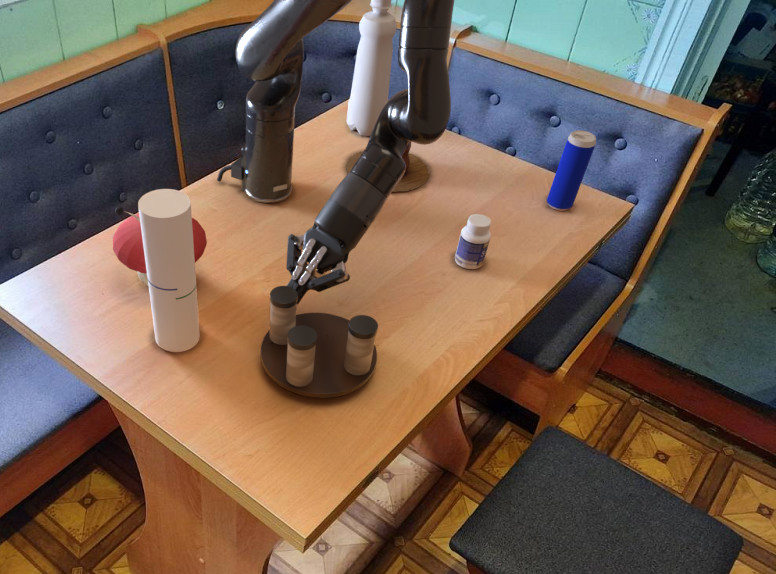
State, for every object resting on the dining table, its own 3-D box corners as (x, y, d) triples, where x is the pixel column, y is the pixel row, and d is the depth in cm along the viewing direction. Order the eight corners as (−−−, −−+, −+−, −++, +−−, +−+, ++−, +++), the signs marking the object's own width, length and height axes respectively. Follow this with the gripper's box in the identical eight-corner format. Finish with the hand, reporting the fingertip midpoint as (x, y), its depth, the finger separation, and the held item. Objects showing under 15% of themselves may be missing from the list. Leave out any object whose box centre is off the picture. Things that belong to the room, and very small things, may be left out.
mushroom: (196, 244, 135) (192, 172, 124) (218, 297, 124) (216, 223, 114) (111, 259, 131) (99, 185, 120) (127, 314, 121) (115, 239, 110)
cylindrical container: (155, 322, 119) (139, 189, 101) (199, 321, 120) (190, 188, 102) (154, 353, 114) (136, 218, 96) (200, 351, 115) (190, 217, 97)
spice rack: (284, 410, 105) (286, 364, 98) (245, 330, 116) (245, 284, 110) (396, 381, 109) (406, 335, 103) (347, 307, 121) (353, 261, 114)
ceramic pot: (434, 194, 149) (441, 163, 144) (348, 191, 149) (351, 160, 144) (423, 150, 161) (429, 120, 156) (343, 147, 161) (346, 117, 156)
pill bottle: (482, 271, 131) (495, 230, 125) (453, 267, 132) (464, 226, 126) (483, 254, 135) (494, 213, 128) (454, 250, 136) (464, 209, 129)
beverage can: (572, 200, 149) (598, 132, 138) (571, 214, 145) (597, 145, 134) (546, 195, 150) (570, 127, 139) (544, 208, 146) (568, 139, 135)
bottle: (363, 115, 172) (379, -23, 150) (393, 129, 168) (414, -11, 146) (337, 127, 167) (350, -13, 146) (367, 142, 163) (385, 0, 141)
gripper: (310, 181, 111) (246, 276, 114) (371, 221, 104) (301, 320, 107) (332, 200, 117) (271, 289, 120) (391, 239, 110) (325, 332, 113)
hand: (286, 304), depth 113 cm, fingers closed
